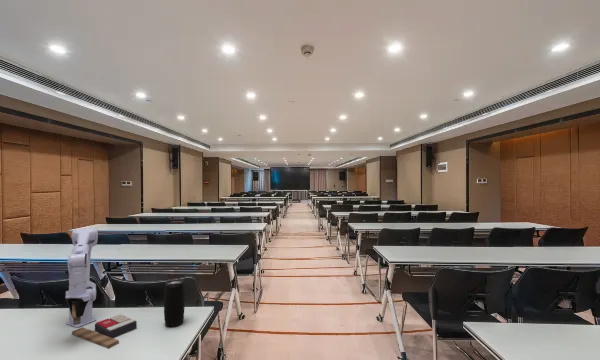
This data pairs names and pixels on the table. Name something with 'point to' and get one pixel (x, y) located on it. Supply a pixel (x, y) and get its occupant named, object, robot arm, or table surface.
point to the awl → (75, 319)
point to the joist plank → (96, 337)
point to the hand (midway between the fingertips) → (77, 315)
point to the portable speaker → (174, 302)
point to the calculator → (116, 326)
